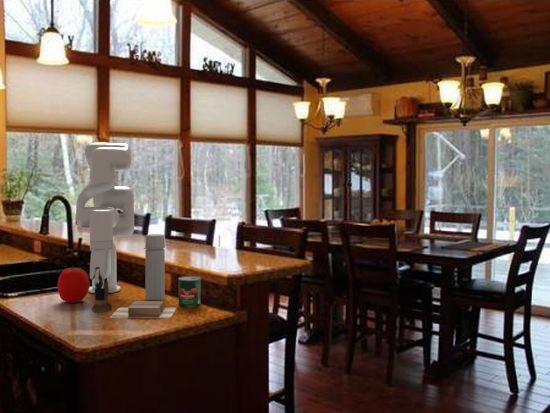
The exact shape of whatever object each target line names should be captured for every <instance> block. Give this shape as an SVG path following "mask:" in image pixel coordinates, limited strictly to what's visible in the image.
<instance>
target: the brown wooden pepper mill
mask: <svg viewBox="0 0 550 413" xmlns="http://www.w3.org/2000/svg"><path fill="white" fill-rule="evenodd" d="M99 279H101V278H99ZM99 282H101V284H102V281H99ZM104 288H105V300H95V304H93V306H91V312H93V313H107V312H111V311H112V310H113V305H112V304H110V303H109V300H108V299H109V296H108V281H107V280H104Z"/></svg>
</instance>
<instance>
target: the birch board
mask: <svg viewBox="0 0 550 413" xmlns="http://www.w3.org/2000/svg"><path fill="white" fill-rule="evenodd" d="M129 307H130V306H127V307H125V306H124V307H120V306H119V307H118V308H117V309H116V310H115V311H114V312H113V313H112V314H111V315H110V316H109V317H108V318H110V319H111V318H112V319H171V318H172V317H173V315H174V313H175V312H176V310H177V307H165V306H164V310H163V312H162V313H161V315H160V316H159V317H128V308H129Z"/></svg>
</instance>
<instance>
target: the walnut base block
mask: <svg viewBox="0 0 550 413" xmlns="http://www.w3.org/2000/svg"><path fill="white" fill-rule="evenodd" d="M128 307H129V308H128V317H159V316H160V315H161V313H162V312H163V310H164V307H165V300H134V301H133V302H132V303H131V304H130V306H128Z"/></svg>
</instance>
